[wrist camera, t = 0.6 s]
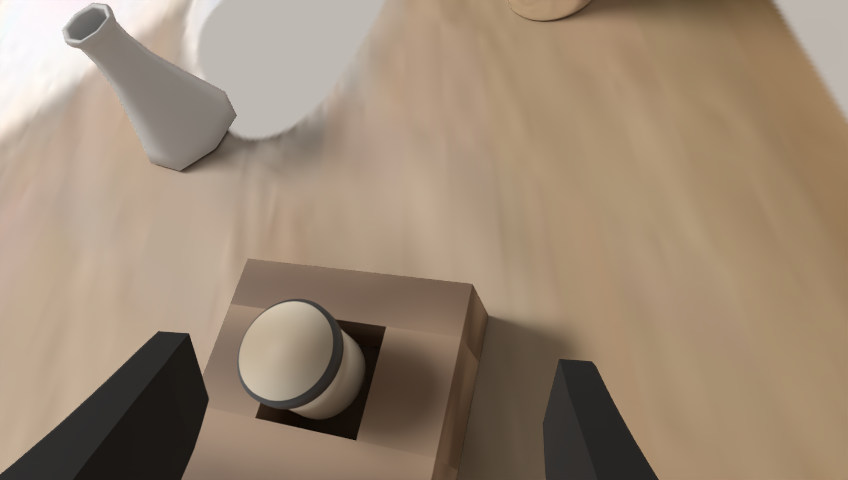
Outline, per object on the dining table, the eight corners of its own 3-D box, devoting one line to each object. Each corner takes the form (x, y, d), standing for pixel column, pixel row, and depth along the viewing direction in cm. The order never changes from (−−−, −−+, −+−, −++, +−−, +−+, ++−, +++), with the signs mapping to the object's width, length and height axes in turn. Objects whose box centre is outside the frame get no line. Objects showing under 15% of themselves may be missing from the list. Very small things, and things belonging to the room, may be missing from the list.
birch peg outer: (354, 432, 25) (316, 414, 22) (266, 413, 27) (218, 394, 23) (380, 334, 27) (349, 303, 24) (297, 321, 28) (256, 291, 25)
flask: (130, 143, 44) (13, 43, 35) (201, 76, 45) (105, -36, 37) (179, 188, 40) (63, 89, 32) (255, 114, 41) (163, -1, 33)
